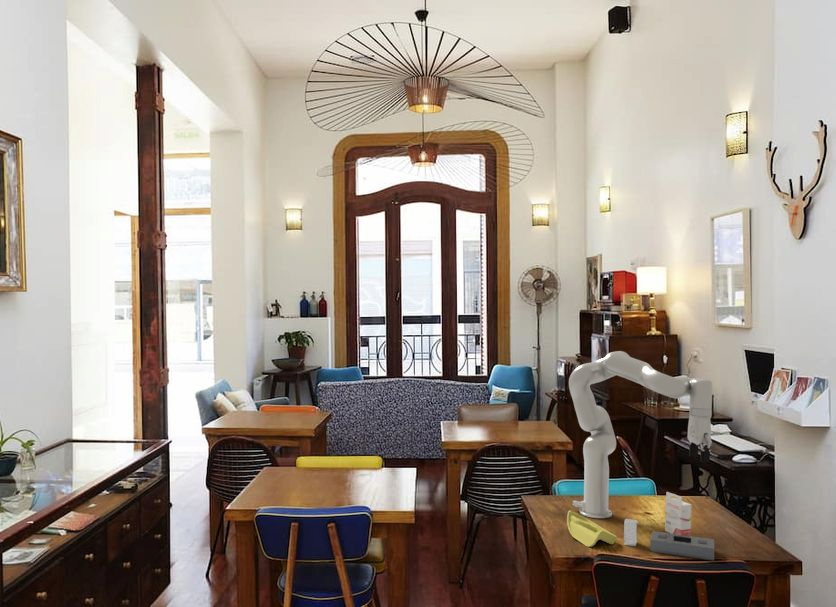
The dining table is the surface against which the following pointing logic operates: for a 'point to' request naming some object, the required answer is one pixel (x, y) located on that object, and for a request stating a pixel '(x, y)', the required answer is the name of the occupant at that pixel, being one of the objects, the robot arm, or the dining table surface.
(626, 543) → the steel peg
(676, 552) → the grey slotted block
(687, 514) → the ink cartridge box
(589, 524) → the plastic component
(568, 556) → the dining table surface
